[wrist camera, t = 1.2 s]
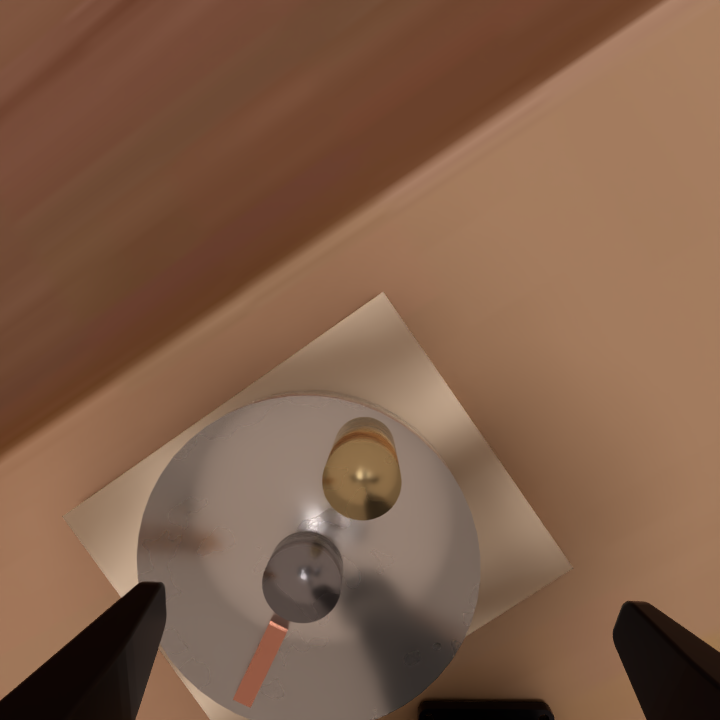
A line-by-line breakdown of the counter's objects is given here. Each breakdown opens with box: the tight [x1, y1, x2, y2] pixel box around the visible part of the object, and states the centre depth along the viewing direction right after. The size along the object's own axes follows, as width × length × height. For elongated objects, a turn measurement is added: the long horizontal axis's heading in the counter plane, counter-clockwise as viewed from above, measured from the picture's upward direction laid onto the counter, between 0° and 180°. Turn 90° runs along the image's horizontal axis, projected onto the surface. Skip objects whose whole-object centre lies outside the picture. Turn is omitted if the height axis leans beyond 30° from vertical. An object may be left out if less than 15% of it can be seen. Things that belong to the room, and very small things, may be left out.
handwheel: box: [137, 390, 480, 720], centre depth 16 cm, size 14×14×6 cm
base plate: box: [62, 292, 573, 720], centre depth 20 cm, size 15×18×2 cm
